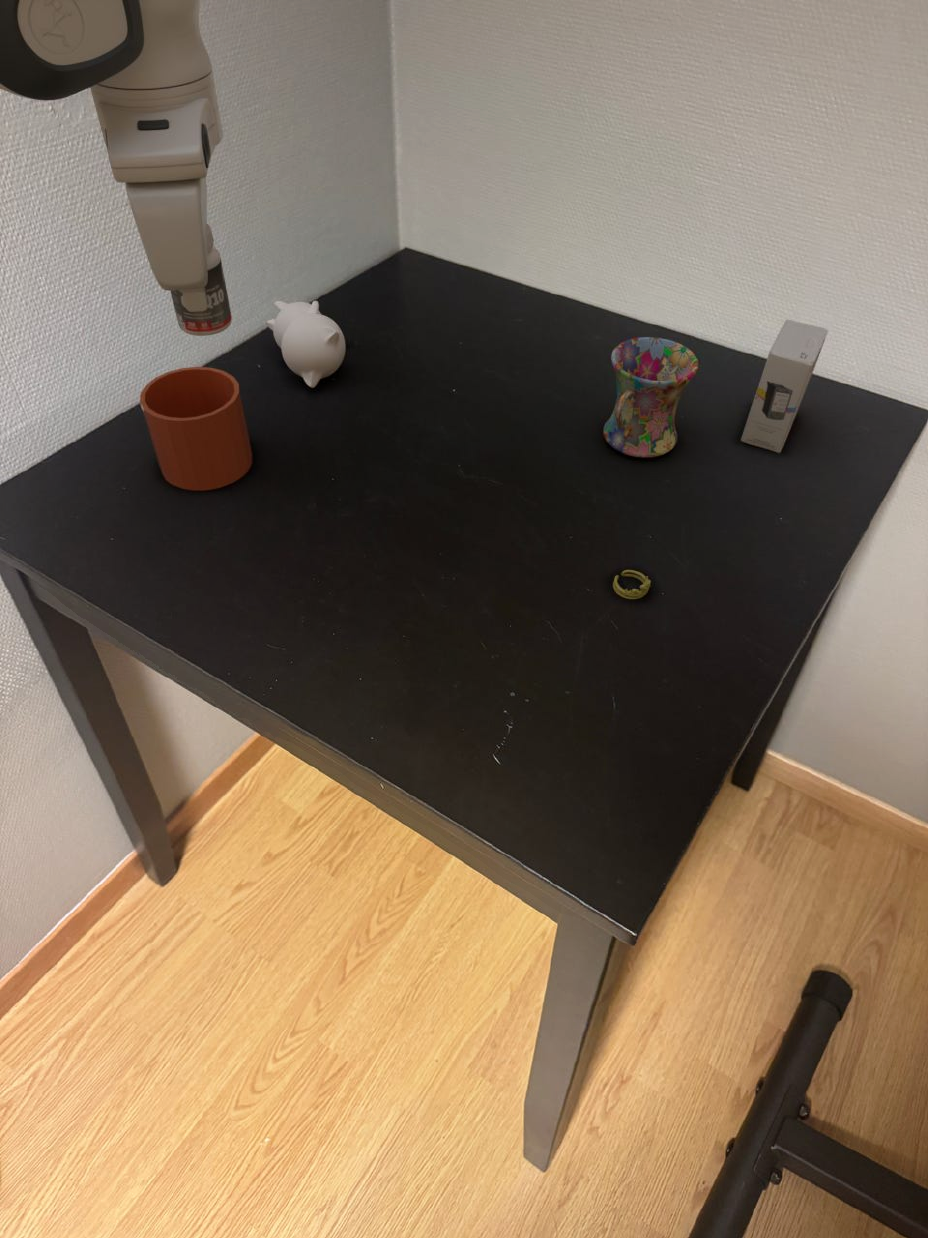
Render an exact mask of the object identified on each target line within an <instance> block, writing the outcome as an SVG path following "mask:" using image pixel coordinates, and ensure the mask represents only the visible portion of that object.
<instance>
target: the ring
mask: <svg viewBox="0 0 928 1238" xmlns="http://www.w3.org/2000/svg"><path fill="white" fill-rule="evenodd" d="M620 575H621V577H632V578H635V579H637V580H639V581H641V583H642V584H641V585H639V589H636V588H632V589H630V590H628V588H625V589H623V588H622V587H621V586H620V584H619V583H618V580H619V578H620ZM620 575H615V576H614V579H613V582H612V588H613V590H614V592H615V593H616V594H617V595H618V596H620V597H622V598H624V599H626V600H627V599H628V600H637V599H642V598H643V597H644V596H645V595H646V594H647V593H648V591H649V589H650V588H651V581H652V580H651V579H649V576H648V575H647V576H645V574H643V573H642V572H640V571H636V570H632V569H625V570H623V571H622V572H621V573H620Z"/></svg>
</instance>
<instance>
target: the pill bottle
mask: <svg viewBox="0 0 928 1238" xmlns="http://www.w3.org/2000/svg"><path fill="white" fill-rule="evenodd" d="M214 243H215V239H214V236H213V231H212V228H211V226H210V225H209V224H208V223H207V272H208V281H207V285H206V286H205V289H206V294H207V302H208V307H207V309H206V310H205V311H200V312H190V311H188V310H187V309H186V307H185V302H184V298H183V294H182V292H181V290H172V291H170V295H171V300H172V303H173V308H174V312H175V317H176V321H177V325H178V327H179V329H180V330H181V331H182V332H184V333H186V334H188V335H190V336H196V337H200V336H201V337H202V336H203V337H204V336H212V335H217V334H220V333H222V332H224V331H226V330H227V329H228V328H229V327H230V326H231V324H232V319H233V317H232V312H231V306H230V300H229V294H228V290H227V283H226V278H225V272H224V268H223V263H222V257H221V254H220V252H219V251H218V249H217V248H216V247H215V246H214V245H215V244H214Z"/></svg>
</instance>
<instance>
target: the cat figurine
mask: <svg viewBox="0 0 928 1238" xmlns="http://www.w3.org/2000/svg"><path fill="white" fill-rule="evenodd" d="M273 305H274V307H275V308H276V309H277V310H278V311H279V312H278V313H277V315H276V317H275V318H271V319H268V320H267V321H266V325H267V327H268V329H269V330H271V331H272V333H273V338H274V341H275V342H276V344H277V346H278V347H279V348H280V349H281V354H282V358H283V361H284V363H285V364H286V366H287V367H288V368H289V369H290V370H291V371H292V372H293V373H294V374H296V375H297V376H299V377H301V378H303V381H304V382H305V385H307V386H308V387H310V388H312V389H313V388H315V387H317V385H318V384H319V382H320V380H322V379H326V378H328V377H330V376H332V374H334V373H335V372H336V371H337V370H338V369H339V368H340V366H342V364H343V361H344V358H345V355H346V339H345V336H344V333H343V331H342V329H341V328H340V326H339V325H338V324H337V323H336V322H335V320H333V319H332V318H330V317H328V316H326V315H323V314H322V313H321V311H320V309H319V308H320V304H319V301H318V300H313V301H312V303H308V302H306V301H294V302H290V303H287V302H285V301H282V300H277V301H275V302H274V304H273Z"/></svg>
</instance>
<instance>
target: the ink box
mask: <svg viewBox="0 0 928 1238" xmlns="http://www.w3.org/2000/svg"><path fill="white" fill-rule="evenodd" d="M828 334H829V330H828V329H827V328H825V327H821V326H817V325H813V324H812V325H811V324H808V323H804V322H803V323H802V322H798V321H795V320H792V319H791V320H790V319H785V322H784V323H783V325H782V326H781V328H780V331H779V333H778V334H777V336H776V338H775V340H774V341H773V344H772V345H771V347H770V350H769V352H768V356H767V359H766V361H765V364H764V367H763V371H762V373H761V376H760V380H759V383H758V386H757V389H756V392H755V395H754V398H753V401H752V404H751V407H750V410H749V413H748V416H747V418H746V419H747V420H746V422H745V426H744V429H743V432H742V435H741V438H740V442H742V443H745V444H748V445H752V446H754V447H758V448H762V449H765V450H769V451H772V452H774V453H777V454H781V452H782V449H783V448H784V446H785V442H786V440H787V438H788V436H789V434H790V431H791V429H792V426H793V423H794V421H795V419H796V416H797V413H798V412H799V409H800V406H801V403H802V401H803V399H804V397H805V396H804V395H805V393H806V391H807V388H808V385H809V383H810V380H811V378H812V375H813V373H814V370H815V367H816V365H817V363H818V360H819V357H820V354H821V351H822V349H823V346H824V344H825V341H826V338H827V336H828Z"/></svg>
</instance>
